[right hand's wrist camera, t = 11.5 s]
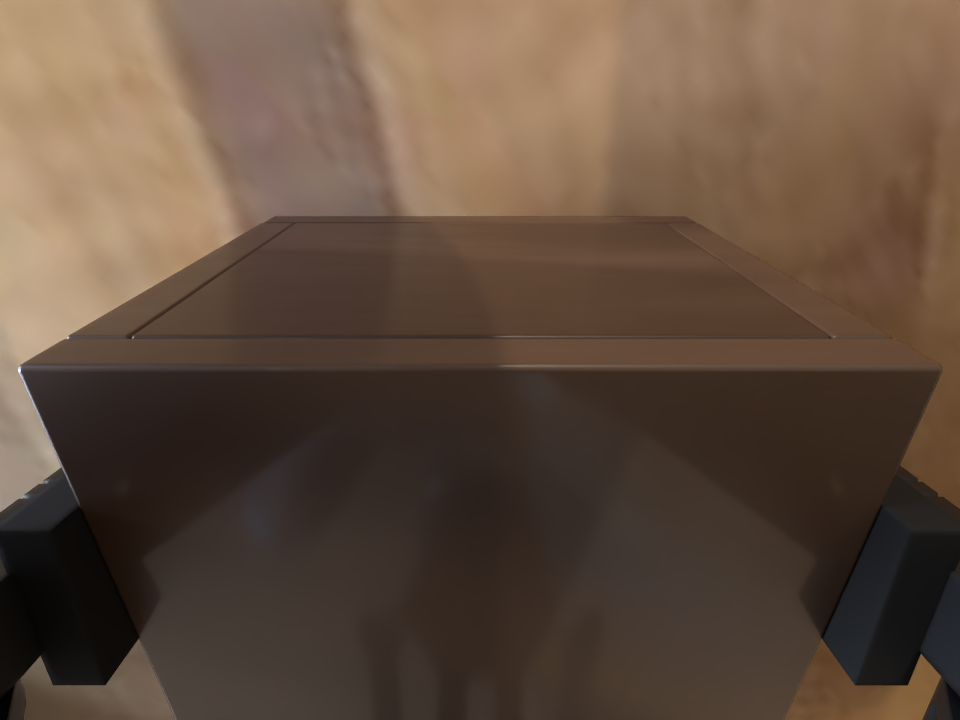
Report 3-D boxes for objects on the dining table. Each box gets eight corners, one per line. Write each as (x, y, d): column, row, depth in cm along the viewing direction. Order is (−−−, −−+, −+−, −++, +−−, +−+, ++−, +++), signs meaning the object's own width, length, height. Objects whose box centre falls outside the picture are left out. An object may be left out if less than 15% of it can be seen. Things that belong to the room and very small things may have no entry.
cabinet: (609, 657, 22) (678, 957, 14) (350, 657, 22) (281, 957, 14) (687, 215, 14) (948, 366, 6) (272, 215, 14) (10, 366, 6)
